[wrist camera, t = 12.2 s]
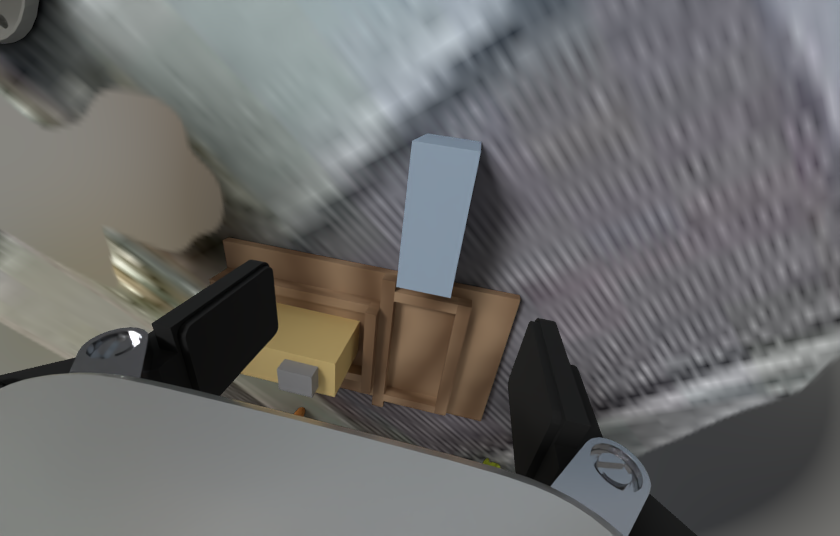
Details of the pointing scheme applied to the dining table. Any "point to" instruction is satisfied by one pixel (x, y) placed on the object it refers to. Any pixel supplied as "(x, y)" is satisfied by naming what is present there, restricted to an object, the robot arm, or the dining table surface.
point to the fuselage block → (307, 352)
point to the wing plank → (436, 212)
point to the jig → (397, 328)
